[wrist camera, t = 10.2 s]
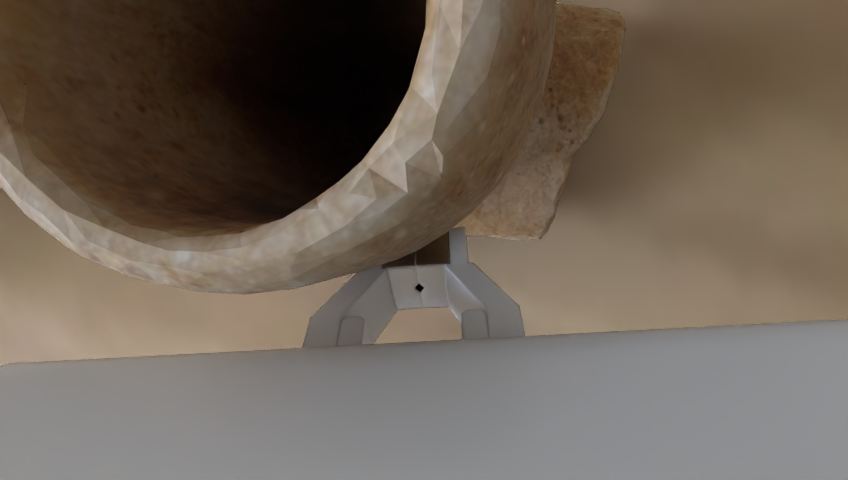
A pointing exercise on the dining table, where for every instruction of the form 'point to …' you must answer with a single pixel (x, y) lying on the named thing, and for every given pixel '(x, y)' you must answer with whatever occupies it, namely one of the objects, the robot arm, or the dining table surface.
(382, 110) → the stone cup
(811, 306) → the dining table surface
